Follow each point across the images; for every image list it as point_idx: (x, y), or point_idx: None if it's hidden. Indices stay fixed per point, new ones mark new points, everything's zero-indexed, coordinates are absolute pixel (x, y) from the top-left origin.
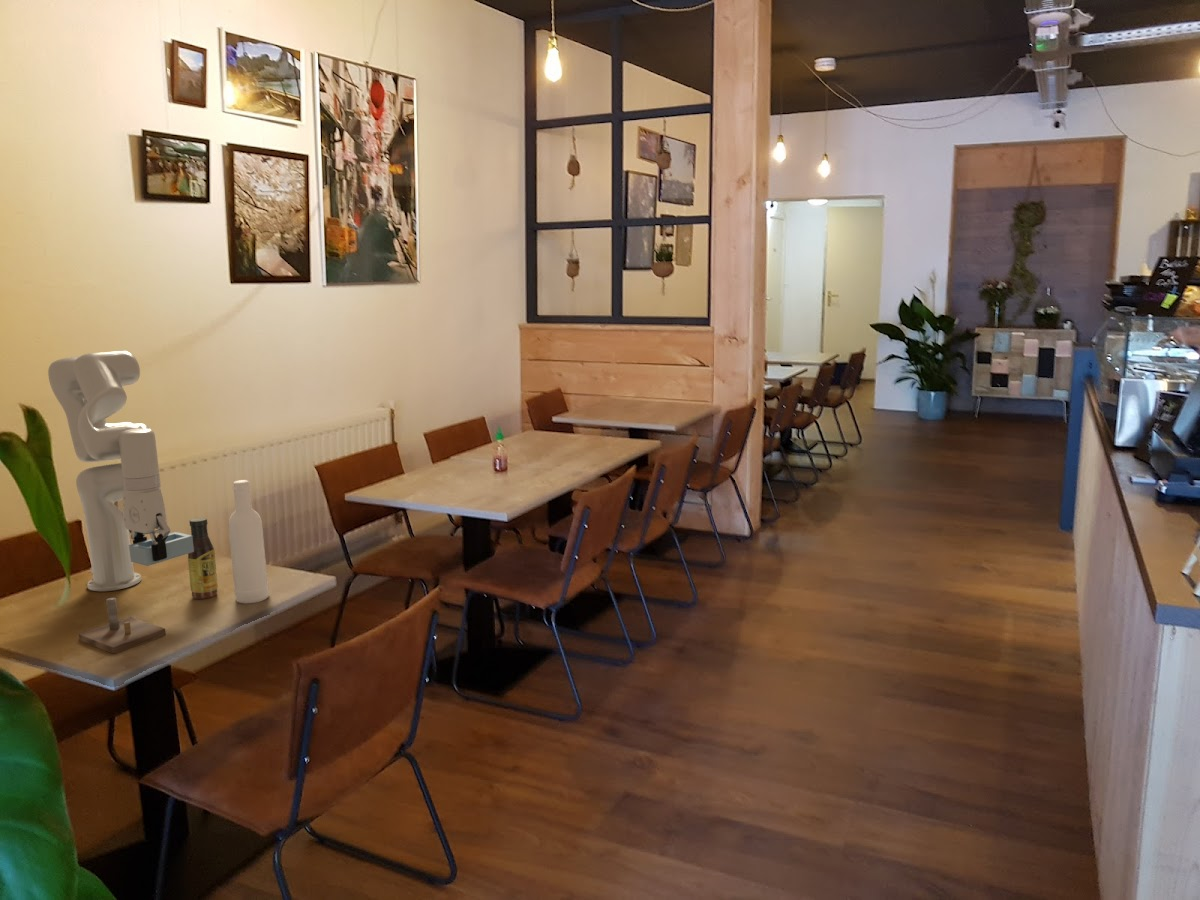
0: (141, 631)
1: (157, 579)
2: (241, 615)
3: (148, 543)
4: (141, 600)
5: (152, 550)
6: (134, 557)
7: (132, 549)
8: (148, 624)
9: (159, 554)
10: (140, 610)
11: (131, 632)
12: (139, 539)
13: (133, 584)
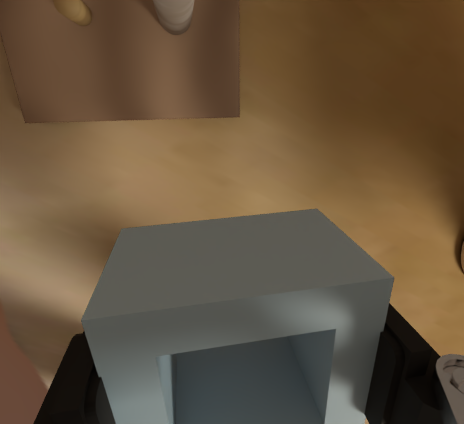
0: (61, 56)
1: (438, 301)
2: (29, 314)
3: (318, 392)
4: (362, 219)
5: (85, 352)
6: (281, 230)
7: (321, 263)
8: (114, 111)
9: (70, 352)
10: (301, 182)
11: (82, 28)
12: (395, 391)
13: (462, 255)
